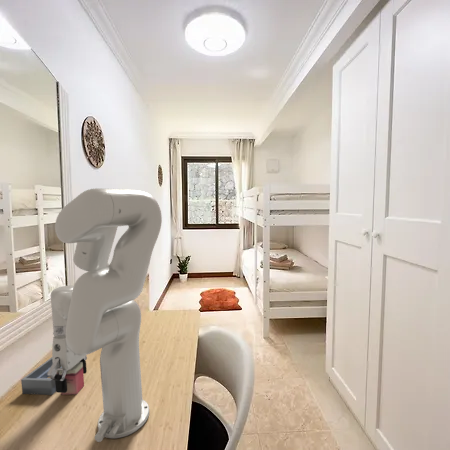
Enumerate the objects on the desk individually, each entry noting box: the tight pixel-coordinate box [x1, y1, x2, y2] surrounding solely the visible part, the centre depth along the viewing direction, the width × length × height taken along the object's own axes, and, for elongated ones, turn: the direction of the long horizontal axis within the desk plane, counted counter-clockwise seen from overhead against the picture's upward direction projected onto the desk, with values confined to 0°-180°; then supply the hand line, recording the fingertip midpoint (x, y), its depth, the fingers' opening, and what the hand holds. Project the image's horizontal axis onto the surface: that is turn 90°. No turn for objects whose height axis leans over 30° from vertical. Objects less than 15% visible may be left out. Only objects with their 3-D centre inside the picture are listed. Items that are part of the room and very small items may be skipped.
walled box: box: [20, 356, 62, 396], centre depth 88 cm, size 15×10×4 cm, turn 173°
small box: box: [60, 362, 85, 395], centre depth 82 cm, size 5×4×8 cm
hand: (72, 381), depth 82 cm, fingers open, 8 cm apart
